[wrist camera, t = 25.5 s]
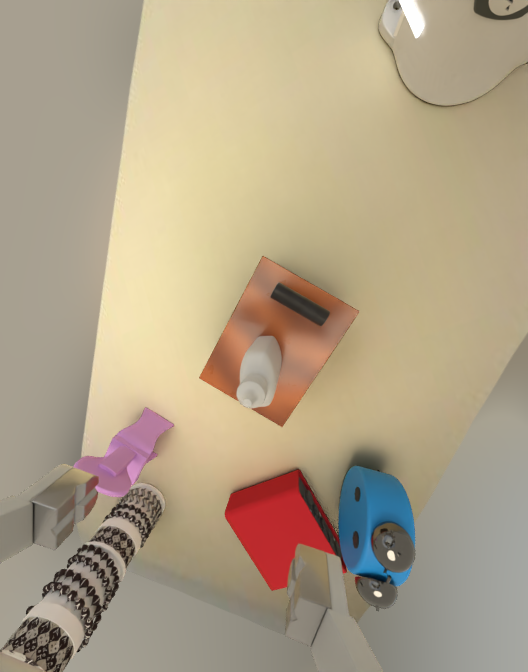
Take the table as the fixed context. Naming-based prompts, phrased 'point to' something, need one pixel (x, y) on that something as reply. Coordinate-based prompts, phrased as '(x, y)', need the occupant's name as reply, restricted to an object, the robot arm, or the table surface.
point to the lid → (280, 335)
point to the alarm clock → (376, 534)
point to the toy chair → (126, 455)
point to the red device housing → (280, 525)
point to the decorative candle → (86, 584)
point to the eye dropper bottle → (259, 373)
